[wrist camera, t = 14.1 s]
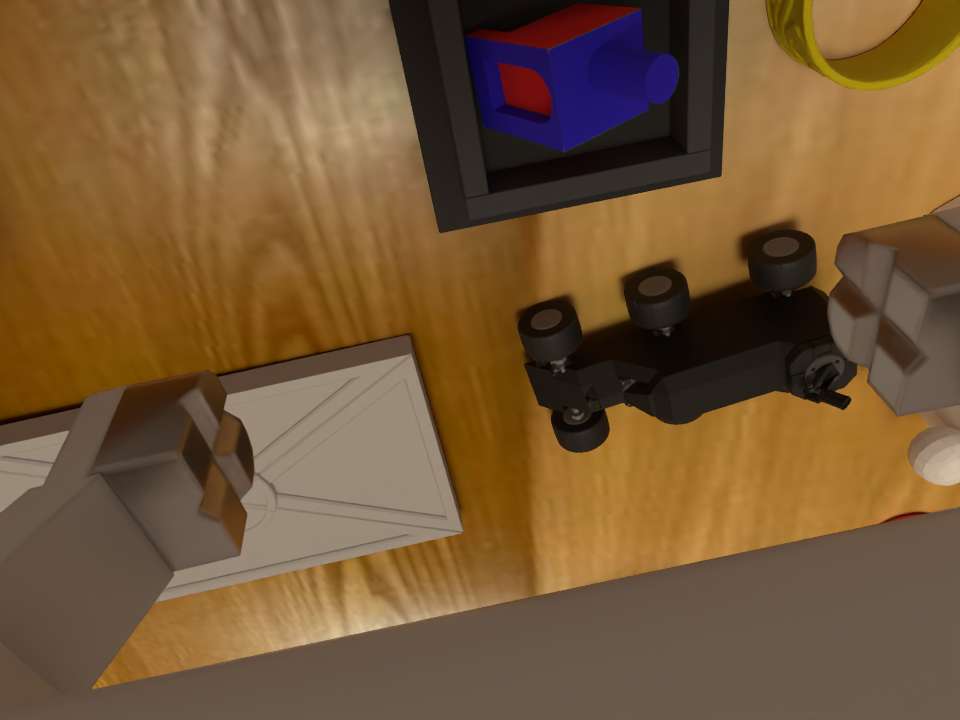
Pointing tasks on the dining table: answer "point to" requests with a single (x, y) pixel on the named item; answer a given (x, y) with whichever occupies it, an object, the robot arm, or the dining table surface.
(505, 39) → the toy building block
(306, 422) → the envelope
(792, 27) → the bracelet
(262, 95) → the dining table surface
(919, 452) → the decorative object
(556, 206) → the base pad
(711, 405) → the toy vehicle
